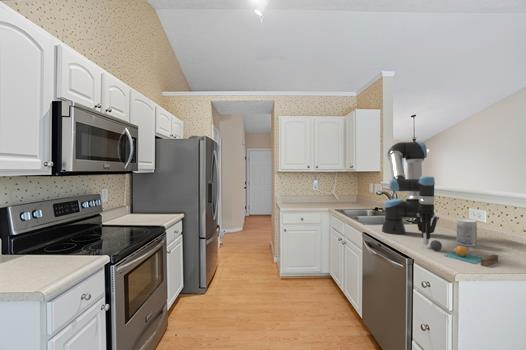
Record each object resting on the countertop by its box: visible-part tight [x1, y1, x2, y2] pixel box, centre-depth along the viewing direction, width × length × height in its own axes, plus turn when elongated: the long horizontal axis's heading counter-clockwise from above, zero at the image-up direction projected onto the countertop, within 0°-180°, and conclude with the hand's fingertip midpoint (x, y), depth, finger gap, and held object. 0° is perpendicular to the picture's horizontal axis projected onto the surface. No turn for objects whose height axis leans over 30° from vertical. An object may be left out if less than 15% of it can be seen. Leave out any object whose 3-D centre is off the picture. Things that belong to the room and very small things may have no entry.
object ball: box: [454, 245, 469, 257], centre depth 140 cm, size 6×6×6 cm
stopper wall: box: [480, 254, 499, 267], centre depth 129 cm, size 2×13×3 cm, turn 120°
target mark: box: [443, 251, 485, 265], centre depth 138 cm, size 14×14×1 cm
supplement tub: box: [456, 218, 478, 248], centre depth 160 cm, size 10×10×15 cm
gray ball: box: [429, 239, 443, 251], centre depth 150 cm, size 6×6×6 cm
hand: (425, 244), depth 156 cm, fingers closed
